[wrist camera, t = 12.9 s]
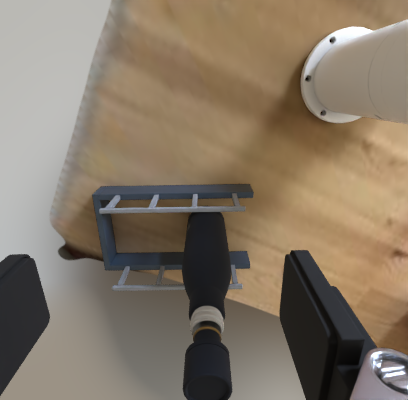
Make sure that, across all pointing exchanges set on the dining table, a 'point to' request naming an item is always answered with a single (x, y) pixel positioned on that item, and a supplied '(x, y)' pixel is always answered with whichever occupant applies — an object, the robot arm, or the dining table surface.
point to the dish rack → (155, 193)
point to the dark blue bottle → (206, 307)
